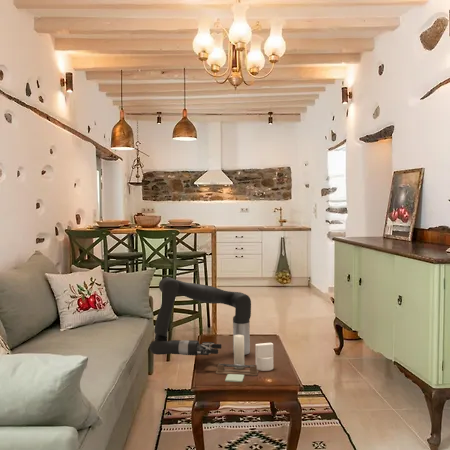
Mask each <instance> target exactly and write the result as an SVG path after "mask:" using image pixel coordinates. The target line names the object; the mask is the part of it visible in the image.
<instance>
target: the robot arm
mask: <svg viewBox="0 0 450 450" xmlns="http://www.w3.org/2000/svg"><path fill="white" fill-rule="evenodd" d="M158 288H159V291H160V292H161V293H162V298H161V299H162V300H161V305H160V308H159V310H158V313H157V316H156V319H155V325H154V335H155V336H154V340H153V341H152V342H151V343H150V344H149V351H150V353H152V354H154V355H170V354H171V355H183V356H193V357H194V356H209V355H215V354H216V355H218V354H219V349H222V344H221V343H215V342H213V341H202V343H200V341H199V340H196V339H195V340H193V339H181V340H180V339H177V340H176V339H174V340H173V339H172V340H168V331H169V326H170V322H171V317H172V316H171V315H172V311H173V308H174V304H175V300H176V298H177V296H182V297H186V298H189V299H190V300H194V301H197V302H200V303H204V304H222V305H226V306H229V307H233V308H235V310H234V311H235V312H234V313H235V314H234V316H233V317H232V345H233V347H232V348H233V349H232V351H233V352H232V353H233V354H234V335H244V356H245V355H246V356H247V355H249V354H250V353H251V352H250V351H251V350H250V349H251V341H250V338H251V337H250V330H251V329H250V320H251V316H252V299H251V298H250V296H249V295H248V294H246V293H243V292H241V291H231V290H224V289H221V288H218V287H215V286H212V285H211V286H210V285H206V284H201V283H194V282H186V281H182V280H178V279H175V278H172V277H170V276H167V277H163V278H162V279H161V280H160V281H159V282H158Z"/></svg>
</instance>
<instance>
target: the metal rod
mask: <svg viewBox="0 0 450 450" xmlns="http://www.w3.org/2000/svg"><path fill="white" fill-rule="evenodd" d="M219 365H224V368H225V367H226V368H234V367H244V368H243V369H245V368H247V369H248V368H249V369H250V366H254V365H255V364H250V365H249V364H244V365H235V364H234V363H233V364H230V363H224V364H219ZM254 367H255V366H254Z"/></svg>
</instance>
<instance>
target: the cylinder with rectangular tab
mask: <svg viewBox="0 0 450 450" xmlns="http://www.w3.org/2000/svg"><path fill="white" fill-rule="evenodd" d="M254 345H255V352H254V353H255V365H257V371H262V372H268V371H273V370H274V343H272V342H264V343H263V342H261V343H255V344H254Z"/></svg>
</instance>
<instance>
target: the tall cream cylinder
mask: <svg viewBox="0 0 450 450" xmlns="http://www.w3.org/2000/svg"><path fill="white" fill-rule="evenodd" d="M233 364H235V365H245V355H244V335H234V353H233ZM233 369H236V370H244V369H245V368H244V367H233Z"/></svg>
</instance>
